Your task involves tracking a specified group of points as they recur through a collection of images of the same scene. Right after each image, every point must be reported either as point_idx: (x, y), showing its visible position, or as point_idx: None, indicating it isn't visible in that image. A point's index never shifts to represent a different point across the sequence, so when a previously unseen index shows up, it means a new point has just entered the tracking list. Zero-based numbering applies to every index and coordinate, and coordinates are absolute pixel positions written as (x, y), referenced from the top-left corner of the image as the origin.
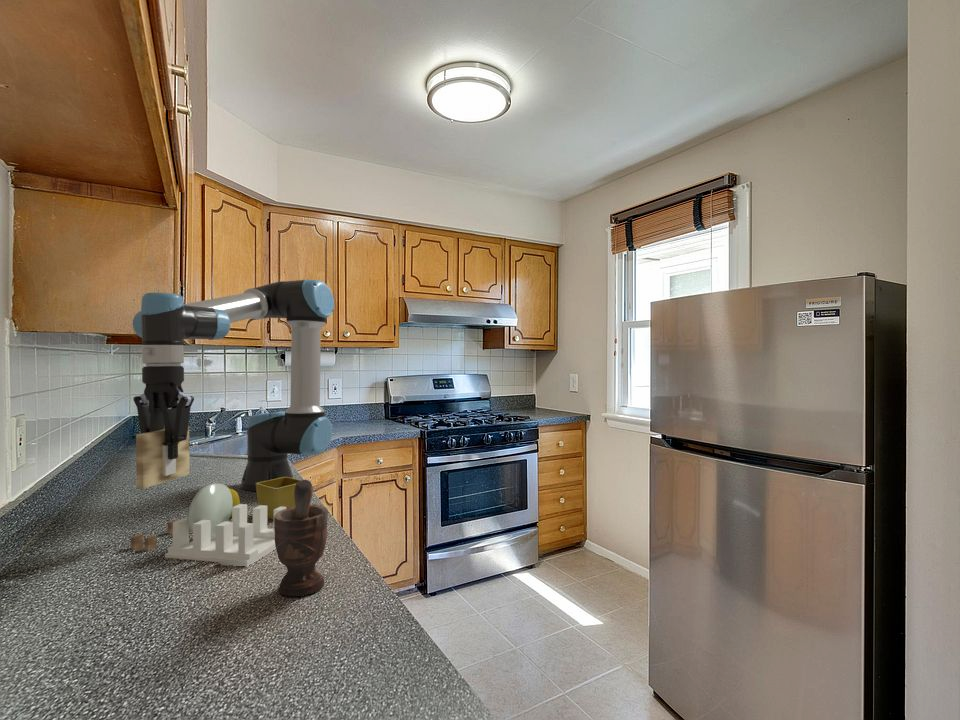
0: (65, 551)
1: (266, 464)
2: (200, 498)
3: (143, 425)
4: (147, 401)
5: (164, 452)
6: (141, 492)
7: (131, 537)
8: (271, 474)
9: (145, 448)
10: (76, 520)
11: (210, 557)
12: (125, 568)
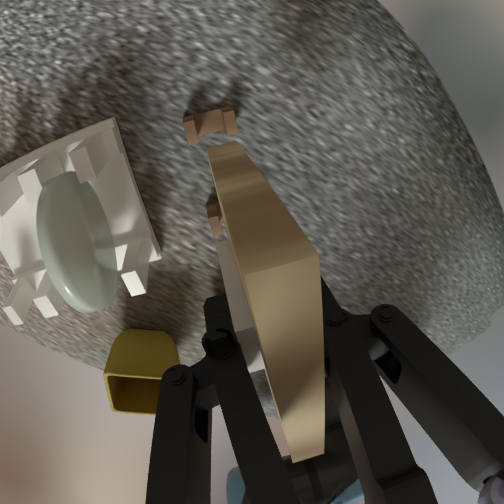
0: (361, 67)
1: None
2: (37, 223)
3: (425, 370)
4: (484, 501)
5: (233, 303)
6: (466, 297)
7: (231, 110)
8: None
9: (230, 233)
10: (468, 185)
11: (21, 159)
12: (148, 55)
